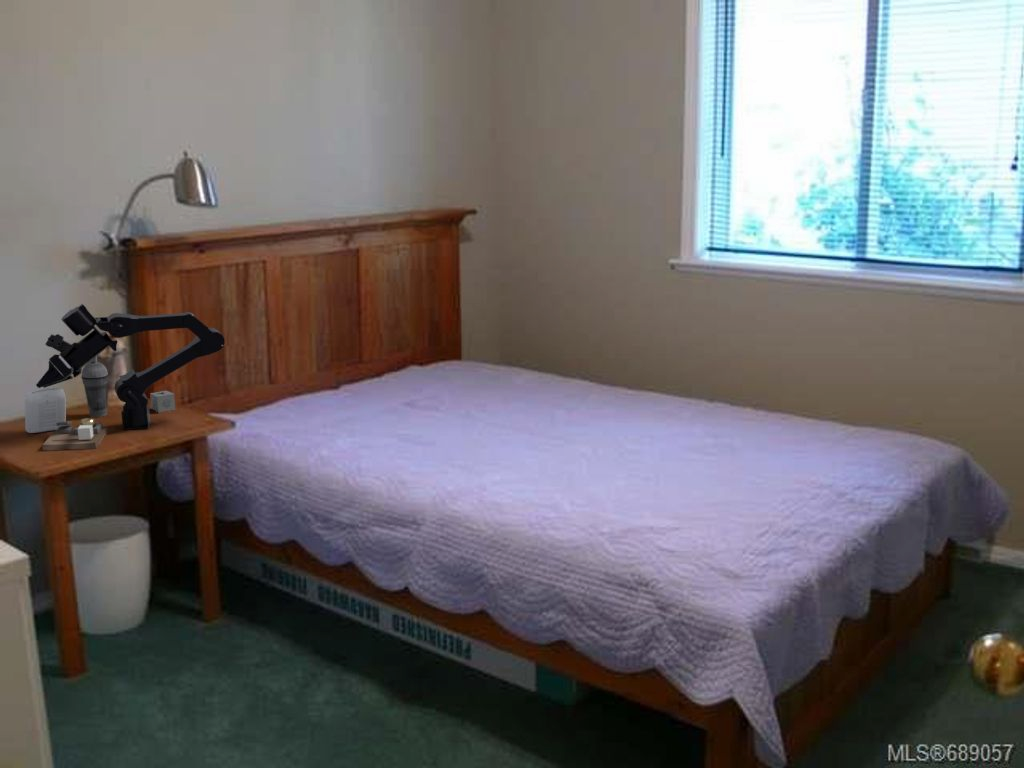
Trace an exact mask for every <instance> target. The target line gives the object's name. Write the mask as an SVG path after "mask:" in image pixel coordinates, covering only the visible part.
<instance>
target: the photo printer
mask: <svg viewBox="0 0 1024 768" xmlns="http://www.w3.org/2000/svg"><path fill="white" fill-rule="evenodd" d="M66 399H67V397H66V394H65V391H64V389H63V388H59V387H45V388H44V387H42V388H38V389H34V390H31V391H29V392H27V393H25V398H24V415H25V416H24V419H25V420H24V421H25V422H24V423H25V424H24V426H25V427H24V428H25V432H26V433H29V434H33V433H34V434H36V433H43V432H49V431H55V430H56V429H58V428H59V427H60V426H57V422H62V421H66V415H67V414H66V408H67V407H66V404H67V402H66ZM64 426H66V425H64Z"/></svg>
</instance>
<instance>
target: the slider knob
mask: <svg viewBox="0 0 1024 768" xmlns="http://www.w3.org/2000/svg"><path fill="white" fill-rule="evenodd" d="M92 437H93V427H92V425H80V426H79V428H78V438H79V440H86V439H91V438H92Z"/></svg>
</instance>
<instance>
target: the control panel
mask: <svg viewBox="0 0 1024 768" xmlns="http://www.w3.org/2000/svg"><path fill="white" fill-rule="evenodd" d="M94 423H95V427H93V437H92V438H91V439H86V440H79V438H78V428H79V426H80V425H82V423H81V422H79V423H78V424H77V425H76V426H74V425H65V426H60V427H59V428H58V429H56V430H53V431H54V432H52V433H51V435H50V436H49V437H48V438H47V439H46V441H45V442H43V444H42V446H41V447H42V451H43V450H47V451H65V450H64V449H70V450H90V449H91V450H92V449H93V450H94V449H97V447H98V446H99V445H100V444H101V442H102V441H103V439H104V438H105V437H104V436H106V435H108V427H107V426H106V427H104V425H103V422H101V421H100V422H99V421H98V422H97V421H96V422H95V421H94Z"/></svg>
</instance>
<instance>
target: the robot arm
mask: <svg viewBox="0 0 1024 768" xmlns="http://www.w3.org/2000/svg"><path fill="white" fill-rule="evenodd" d="M60 320H61V321H62V322H63V324H65V326H66V327H68V329H70V331H71V332H72V333H73V334H74V335H75V336H76V337H78V336H81V337H83V338H82V339H80V340H79V341H78V342H73V343H72V344H71V343H70V342H68V341H66V340H65V339H64V338H65V337H64V336H63V335H60V333H57V334H52V333H51V334H50V336H49V337H47V341H46V342H45V344H44V345H45V346H46V347H49V348H52V349H54V350H56V351H58V352H60V353H59V354H53V355H52V356H51V357H50V358H48V369H47V370H46V372H45V373H44V374H43V375H42V377H41V378H40V380H39V381H38V382H37V383H36V384H35V386H36V387H37V388H38V389H42V388H49V387H51V386H54V385H58V384H60V383H63V382H66V381H69V380H73V379H74V378H77V377H78V376H80V375H82V370H83V368H84V366H85V365H86V364H88V363H90V362H93V361H94V359H95V357H96V356H97V357H98V356H99V355H100V354H102V352H104V351H106V350H107V348H108V347H110V348H111V350H113V351H114V352H116V351H117V345H118V339H120V338H124V337H129V336H130V337H131V336H133V335H136V334H139V333H141V332H150V331H151V332H152V331H163V330H175V329H187V330H189V331H190V332H191V333H192V334H194V335H195V337H194V338H193V339H192V340H191V341H190V342H189V343H188V344H187V345H186V346H184V347H182V348H181V349H179V350H177V351H175V352H173V353H172V354H170V355H168V356H167V357H165V358H162V360H160V361H158V362H156V363H155V364H152V365H151V366H149V367H147V368H146V369H144V370H142V371H139V372H135V370H134V368H131V369H130V370H129V371H128V372H126V373H125V374H122V375H119V379H117V380H116V381H115V383H114V392H115V394H116V396H117V398H118V400H119V401H121V402H123V403H124V404H123V405H122V410H121V411H120V413H121V424H122V426H123V428H122V430H145V429H149V427H150V425H151V424H152V422H153V421H152V420H151V415H150V405H149V399H148V398H147V395H146V394H145V393H146V391H147V390H148V389H149V388H150V387H151V386H152V385H153V384H155V383H157V382H158V381H160V380H162V379H163V378H165V377H166V376H169V375H170V374H172V373H173V372H175V371H177V370H179V369H180V368H182V367H184V366H186V365H188V364H189V363H191V362H193V361H194V360H196V359H198V358H203V357H207V356H210V355H213V354H215V353H218V352H219V351H221V350H222V349H223V348H224V346H225V338H224V335H223V334H222V333H221V332H220V331H219V330H218V329H216V328H215V327H214V328H213V327H209V326H207V325H206V324H204V323H203V322H202V321H201V320H200V319H199V318H197V317H196V315H194V314H193V313H192V312H190V311H185V312H180V313H178V312H177V313H165V314H164V313H163V314H154V315H153V314H151V315H136V314H135V315H134V314H129V313H121V312H114V313H110V314H109V315H108V316H100V317H99V316H98V317H94V315H93V314H92V313H91V312H90V311H89V310H88V308H87V306H85V304H83V303H81V304H80V305H79V306H76V307H74V308H72V309H70V310H69V311H68V312H66V313H65V314H64V315H63V316H62V317H61V319H60ZM101 331H103V332H101ZM111 336H112V337H113V338H118V339H112V338H111Z"/></svg>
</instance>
